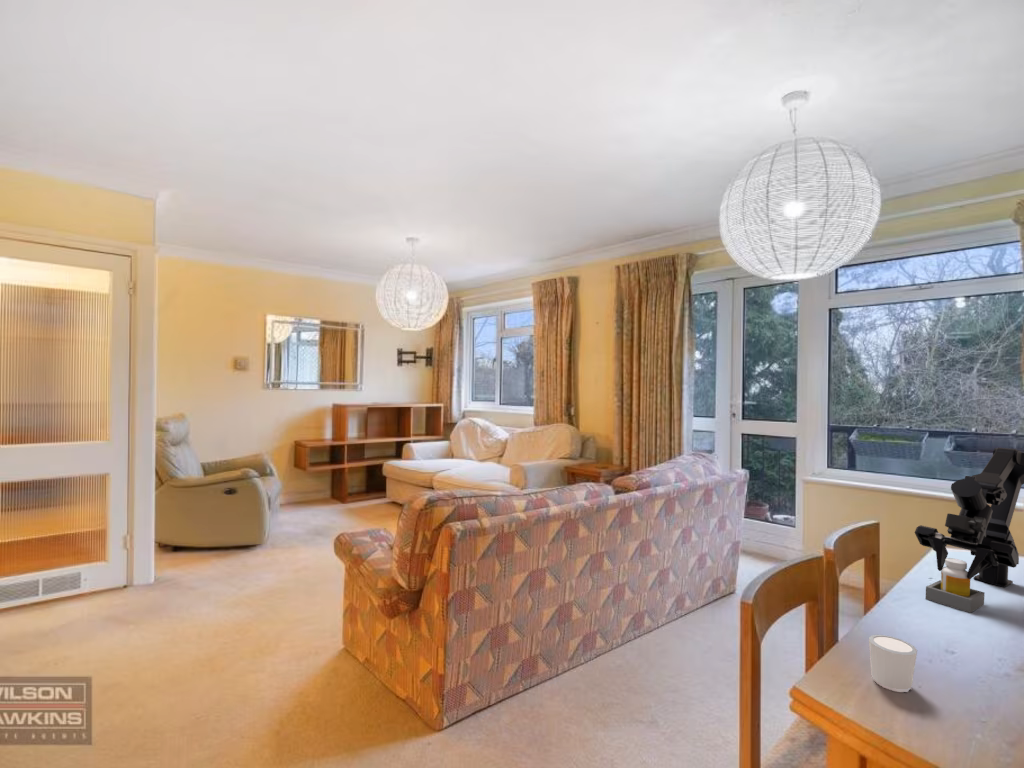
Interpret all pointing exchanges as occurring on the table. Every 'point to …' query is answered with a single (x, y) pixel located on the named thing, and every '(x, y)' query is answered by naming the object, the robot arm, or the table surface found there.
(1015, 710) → the table surface
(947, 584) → the supplement bottle
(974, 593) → the frame
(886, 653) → the white cylinder
